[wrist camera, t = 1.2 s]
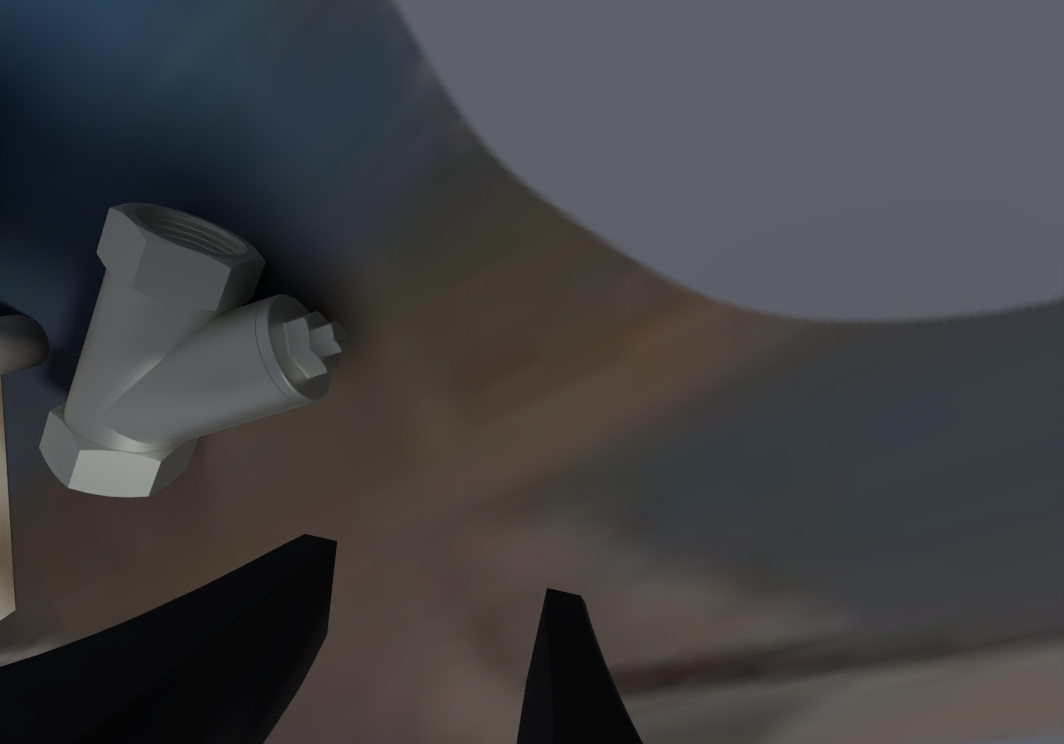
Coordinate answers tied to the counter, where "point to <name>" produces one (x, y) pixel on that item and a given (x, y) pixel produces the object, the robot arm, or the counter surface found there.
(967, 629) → the counter surface
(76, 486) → the pipe fitting
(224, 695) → the robot arm
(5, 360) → the light wooden bar
